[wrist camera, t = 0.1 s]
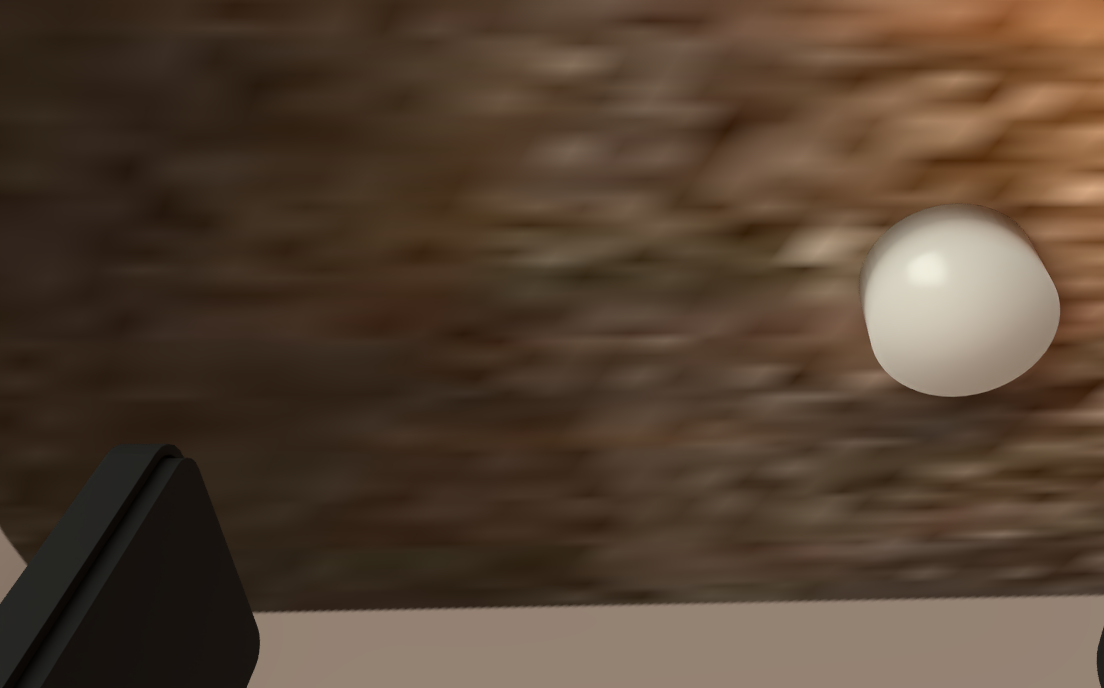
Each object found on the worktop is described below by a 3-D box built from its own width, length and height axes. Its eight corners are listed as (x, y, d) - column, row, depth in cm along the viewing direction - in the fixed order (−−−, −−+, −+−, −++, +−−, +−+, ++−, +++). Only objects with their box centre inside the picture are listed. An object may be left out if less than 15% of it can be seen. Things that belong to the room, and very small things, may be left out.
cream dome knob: (863, 205, 48) (876, 248, 45) (1048, 198, 47) (1075, 241, 43) (853, 349, 52) (864, 397, 49) (1022, 346, 51) (1044, 395, 48)
